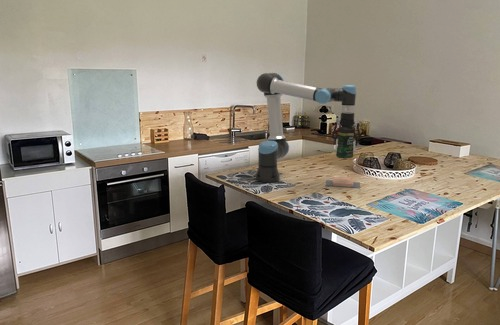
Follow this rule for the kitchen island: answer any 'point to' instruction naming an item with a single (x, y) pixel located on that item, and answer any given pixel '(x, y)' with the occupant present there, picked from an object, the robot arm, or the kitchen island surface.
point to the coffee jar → (345, 142)
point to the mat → (329, 183)
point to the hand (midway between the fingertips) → (345, 150)
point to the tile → (342, 182)
